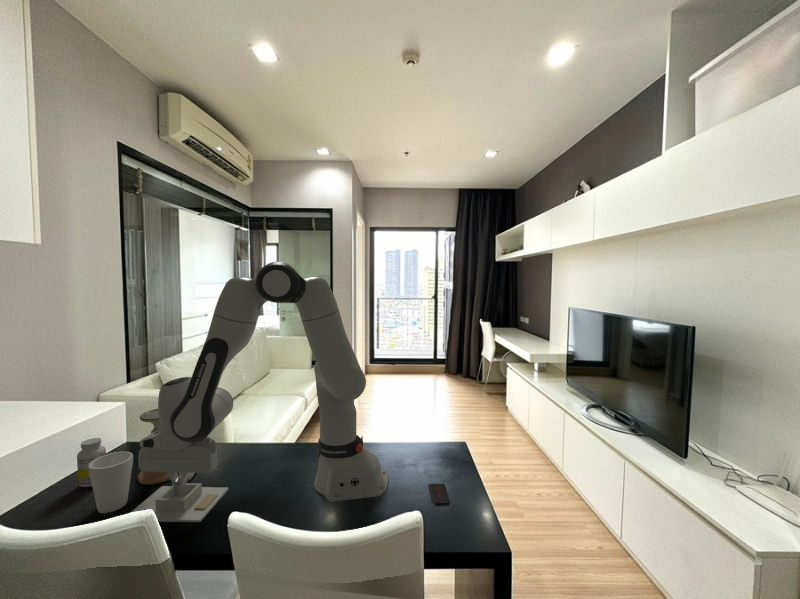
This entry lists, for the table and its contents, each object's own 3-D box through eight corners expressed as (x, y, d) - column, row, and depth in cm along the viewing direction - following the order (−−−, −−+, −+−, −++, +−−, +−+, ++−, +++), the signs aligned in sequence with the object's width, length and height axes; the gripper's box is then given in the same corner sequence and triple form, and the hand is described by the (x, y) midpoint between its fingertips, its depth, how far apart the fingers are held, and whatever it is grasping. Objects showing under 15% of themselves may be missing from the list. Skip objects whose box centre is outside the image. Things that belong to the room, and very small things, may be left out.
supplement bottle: (102, 473, 111) (100, 434, 110) (110, 479, 107) (109, 439, 107) (74, 483, 105) (72, 442, 104) (82, 490, 102) (81, 448, 101)
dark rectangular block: (444, 490, 104) (444, 481, 104) (452, 517, 92) (452, 507, 92) (427, 490, 104) (427, 481, 104) (433, 517, 92) (433, 507, 92)
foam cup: (108, 519, 90) (107, 471, 89) (80, 514, 91) (78, 466, 91) (142, 497, 99) (141, 453, 98) (116, 493, 101) (115, 449, 100)
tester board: (228, 490, 102) (228, 477, 102) (200, 523, 88) (199, 508, 88) (162, 489, 103) (162, 476, 102) (123, 521, 89) (123, 506, 88)
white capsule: (183, 484, 107) (193, 469, 115) (195, 476, 108) (204, 462, 116) (175, 474, 106) (186, 460, 115) (187, 466, 107) (197, 453, 115)
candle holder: (192, 469, 114) (191, 409, 113) (152, 489, 103) (151, 423, 102) (169, 460, 119) (168, 403, 118) (129, 479, 108) (127, 416, 107)
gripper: (221, 432, 97) (222, 479, 98) (150, 431, 98) (152, 478, 99) (209, 443, 91) (209, 493, 92) (133, 441, 92) (134, 491, 92)
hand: (179, 485), depth 95 cm, fingers closed
